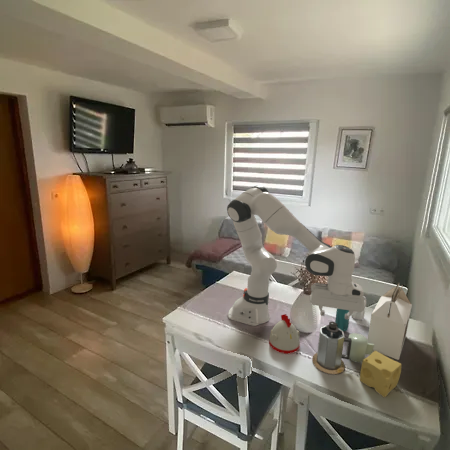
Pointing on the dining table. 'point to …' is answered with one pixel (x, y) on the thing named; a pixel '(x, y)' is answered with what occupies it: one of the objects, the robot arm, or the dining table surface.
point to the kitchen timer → (284, 336)
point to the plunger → (332, 328)
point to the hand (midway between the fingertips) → (334, 316)
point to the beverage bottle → (342, 319)
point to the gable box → (390, 323)
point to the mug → (359, 347)
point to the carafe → (331, 352)
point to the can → (359, 315)
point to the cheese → (380, 373)
